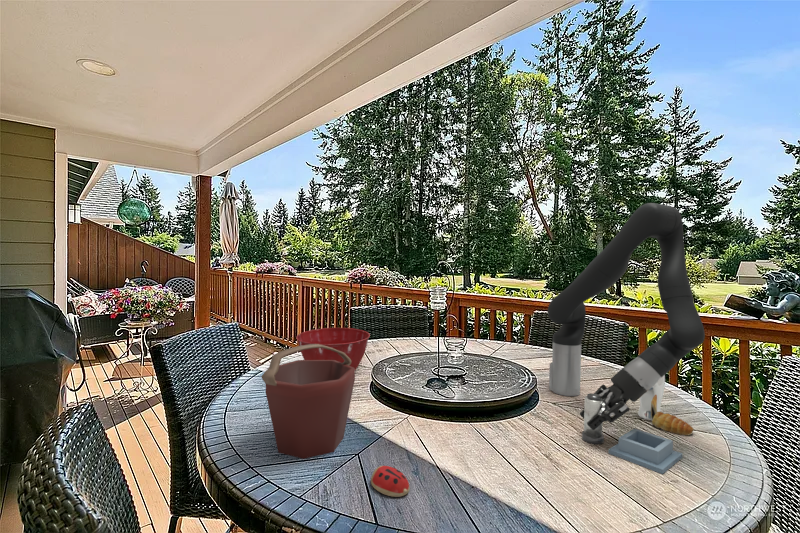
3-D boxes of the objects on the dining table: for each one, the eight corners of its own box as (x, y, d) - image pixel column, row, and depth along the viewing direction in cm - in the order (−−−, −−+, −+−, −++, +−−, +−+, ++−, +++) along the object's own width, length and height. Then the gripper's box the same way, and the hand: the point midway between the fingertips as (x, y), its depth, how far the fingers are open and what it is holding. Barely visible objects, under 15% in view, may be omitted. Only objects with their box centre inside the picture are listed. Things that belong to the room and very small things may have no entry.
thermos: (578, 439, 111) (579, 394, 111) (588, 433, 115) (589, 390, 114) (597, 446, 107) (598, 400, 107) (607, 440, 111) (608, 396, 110)
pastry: (697, 433, 116) (697, 419, 116) (686, 439, 112) (687, 425, 112) (660, 421, 123) (660, 408, 123) (649, 427, 120) (649, 413, 119)
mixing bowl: (366, 385, 153) (366, 343, 152) (287, 384, 154) (287, 342, 153) (372, 363, 181) (372, 327, 181) (306, 363, 182) (305, 327, 181)
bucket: (267, 473, 94) (266, 362, 93) (252, 433, 114) (251, 341, 112) (368, 449, 105) (369, 350, 104) (339, 417, 125) (339, 333, 124)
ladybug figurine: (385, 473, 95) (385, 457, 95) (418, 490, 88) (418, 474, 88) (362, 485, 90) (362, 468, 90) (395, 505, 83) (396, 487, 83)
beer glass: (667, 422, 122) (669, 371, 121) (641, 420, 123) (642, 369, 123) (657, 413, 129) (659, 364, 128) (633, 411, 130) (634, 363, 129)
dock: (608, 453, 104) (608, 437, 104) (630, 439, 111) (630, 424, 111) (662, 474, 94) (663, 456, 94) (682, 457, 102) (683, 441, 102)
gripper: (614, 360, 116) (567, 401, 118) (637, 376, 102) (584, 423, 104) (634, 380, 116) (587, 421, 118) (659, 399, 102) (606, 445, 104)
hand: (586, 421), depth 111 cm, fingers open, 5 cm apart
